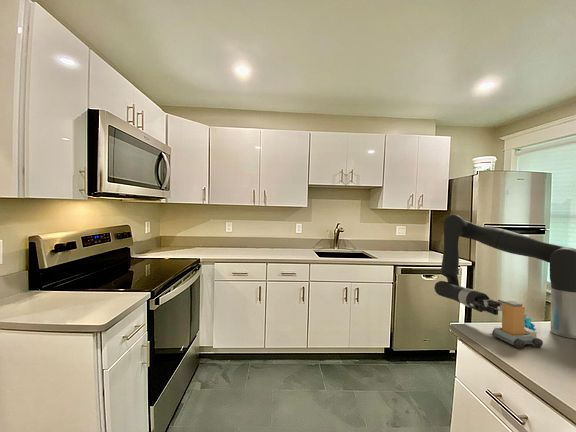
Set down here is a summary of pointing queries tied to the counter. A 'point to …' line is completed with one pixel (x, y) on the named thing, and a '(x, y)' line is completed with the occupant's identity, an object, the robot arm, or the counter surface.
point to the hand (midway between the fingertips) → (507, 311)
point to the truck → (519, 338)
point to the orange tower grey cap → (513, 318)
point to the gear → (529, 324)
